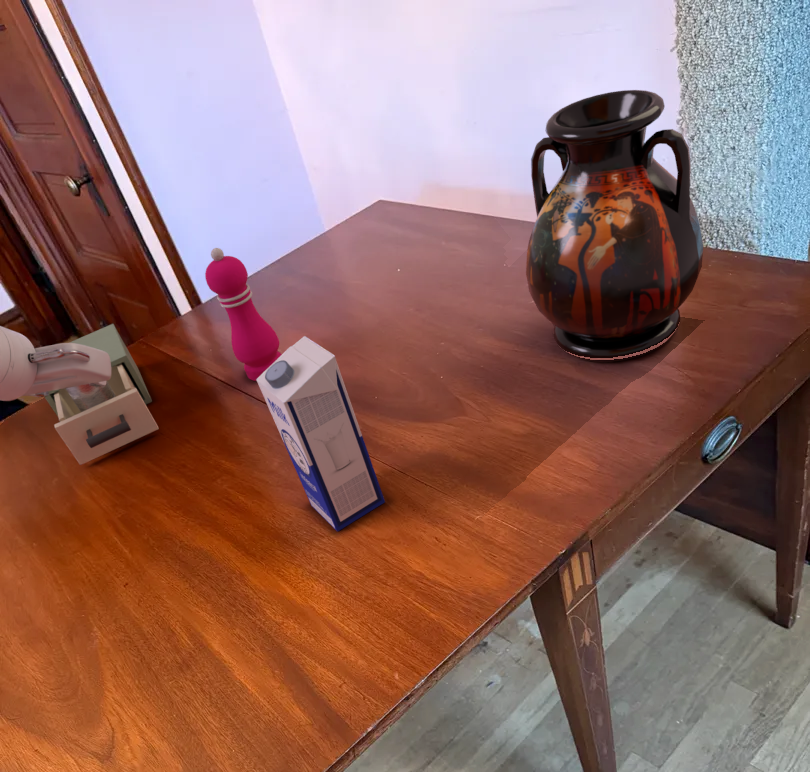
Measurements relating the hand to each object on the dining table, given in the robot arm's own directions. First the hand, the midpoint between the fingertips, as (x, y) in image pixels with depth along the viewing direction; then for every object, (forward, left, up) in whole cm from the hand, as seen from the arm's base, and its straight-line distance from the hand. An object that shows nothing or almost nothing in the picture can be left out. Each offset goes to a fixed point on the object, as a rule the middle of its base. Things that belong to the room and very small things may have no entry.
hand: (72, 385), depth 106 cm
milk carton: (+24, -39, -11) cm, 47 cm away
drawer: (+1, +1, -10) cm, 10 cm away
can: (+1, +2, -9) cm, 9 cm away
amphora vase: (+68, -32, -11) cm, 76 cm away
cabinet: (+1, +15, -11) cm, 19 cm away
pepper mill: (+26, +1, -11) cm, 29 cm away
